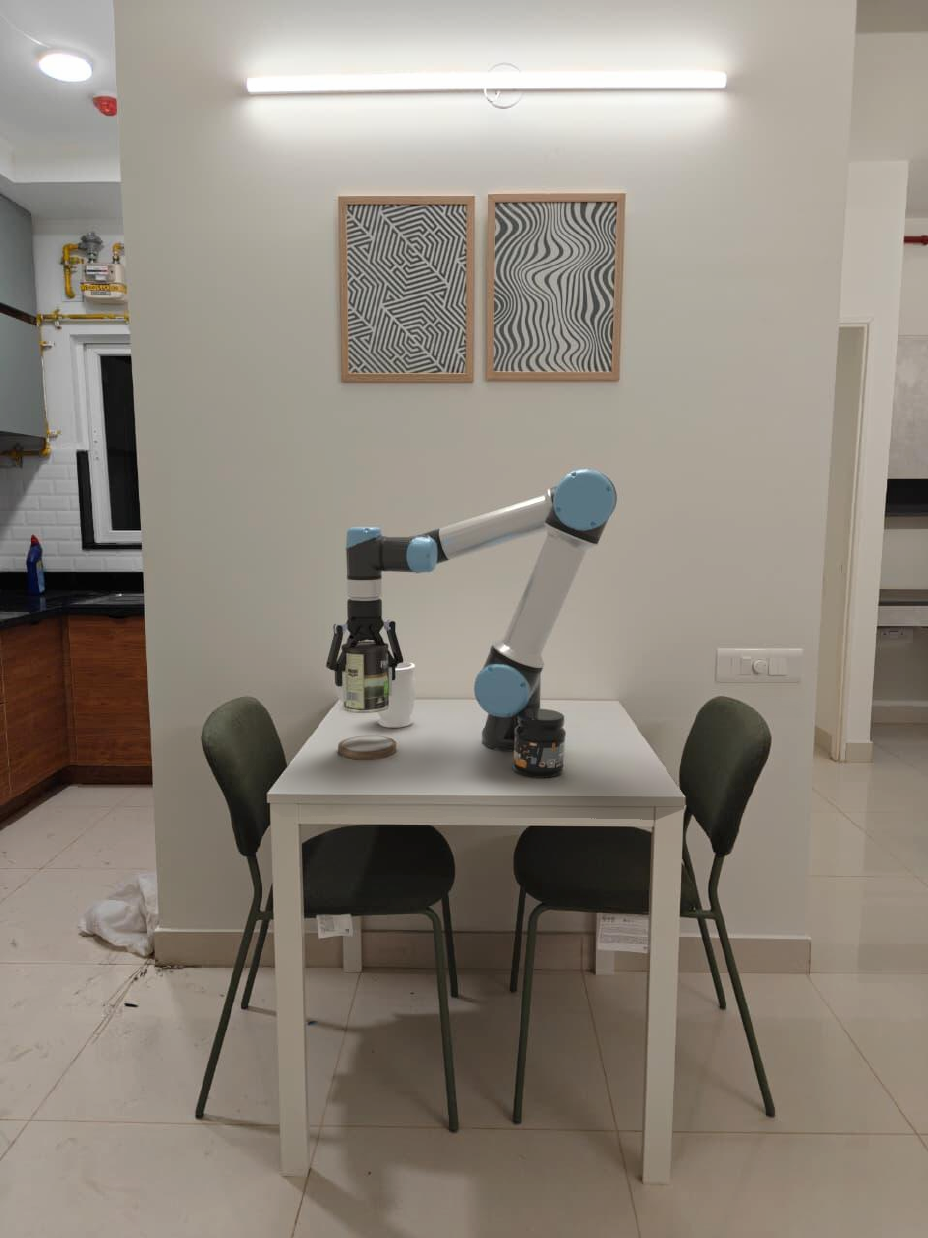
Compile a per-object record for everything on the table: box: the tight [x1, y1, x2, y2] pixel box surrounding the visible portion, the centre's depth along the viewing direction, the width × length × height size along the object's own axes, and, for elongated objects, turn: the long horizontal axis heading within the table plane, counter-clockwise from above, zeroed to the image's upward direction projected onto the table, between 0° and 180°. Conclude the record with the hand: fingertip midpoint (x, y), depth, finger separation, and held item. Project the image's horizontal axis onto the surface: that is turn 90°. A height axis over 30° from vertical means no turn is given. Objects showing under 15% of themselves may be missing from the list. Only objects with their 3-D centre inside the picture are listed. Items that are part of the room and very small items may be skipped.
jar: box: [377, 661, 416, 729], centre depth 203 cm, size 11×10×15 cm
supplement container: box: [512, 708, 567, 778], centre depth 169 cm, size 10×10×12 cm
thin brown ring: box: [337, 735, 398, 761], centre depth 183 cm, size 13×13×2 cm
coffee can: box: [340, 640, 389, 714], centre depth 181 cm, size 10×10×14 cm
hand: (365, 697), depth 182 cm, fingers closed on coffee can, 10 cm apart
